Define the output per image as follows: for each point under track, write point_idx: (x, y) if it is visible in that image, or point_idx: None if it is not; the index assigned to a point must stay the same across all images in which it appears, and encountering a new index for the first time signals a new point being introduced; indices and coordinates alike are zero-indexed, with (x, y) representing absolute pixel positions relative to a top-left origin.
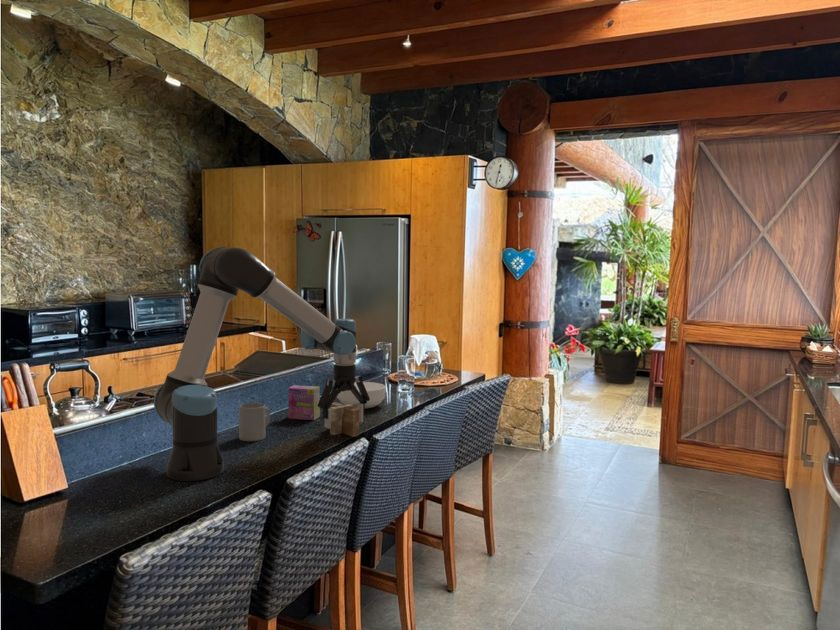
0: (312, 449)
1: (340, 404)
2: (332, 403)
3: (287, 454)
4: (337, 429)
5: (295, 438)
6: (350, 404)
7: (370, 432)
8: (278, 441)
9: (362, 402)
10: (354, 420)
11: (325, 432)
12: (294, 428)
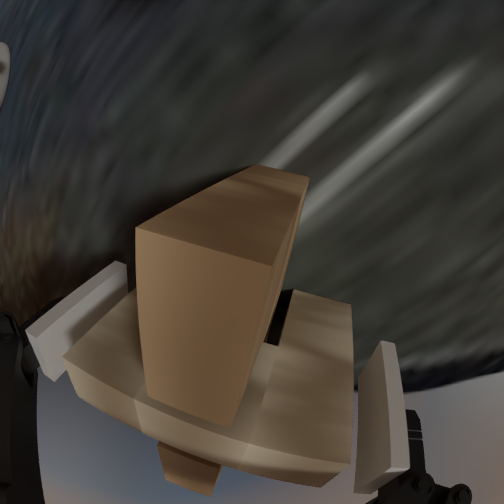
0: None
1: (205, 398)
2: (153, 284)
3: (8, 287)
4: None
5: (40, 186)
6: (290, 459)
7: None
8: (7, 174)
9: (373, 500)
10: None
11: None
12: (114, 25)
